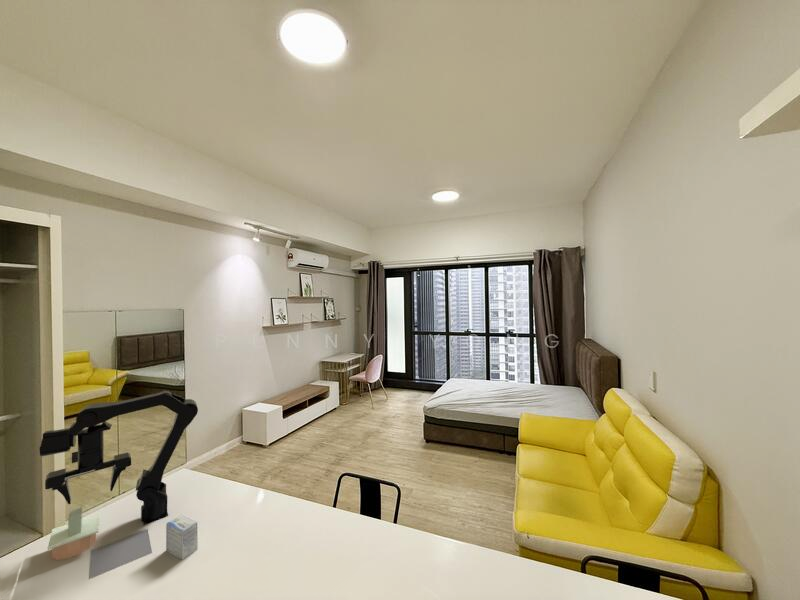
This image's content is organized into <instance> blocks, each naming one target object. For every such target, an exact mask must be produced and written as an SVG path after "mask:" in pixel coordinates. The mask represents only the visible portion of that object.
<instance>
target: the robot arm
mask: <svg viewBox="0 0 800 600" xmlns="http://www.w3.org/2000/svg"><path fill="white" fill-rule="evenodd" d="M159 406H164V407H166V408H167V409H168V410H170V411H172V412H173V413H175V415H174V419H173V424H172V426H171V428H170V430H169V432H168V433H167V436H166V437H165V440H164V442H163V444H162V445H161V447H160V450H159V451H158V453H157V456H156V457H155V460H154V461H153V463H152V465H150V467H149V468H148V469H143V470H142V473H141V475H140V477H139V478H138V479H137V480H136V485H135V491H136V498H137V499H138V500H139V501H141V502H142V505H140V520H141V522H143V525H144V526H145V525H148V524H151V523H153V522H156V521H159V520H162V519H165V518H167V517H169V513H168V494H167V484H166V483H165V482H163V481H162V480H163V476H164V473H165V470H166V467H167V466H168V463H169V462H170V460H171V457H172V456H173V454H174V451H175V449H176V447H177V446H178V444H179V442H180V439H181V438H182V435H183V433H184V432H185V430H186V429H187V427H189V425H190V424H191V423H192V422H193V420H194V419H195V418H196V416H197V415H198V411H199V408H198V404H197V402H196V401H195V400H193V399H190V398H188V399H186V398H184V397H183V396H180V395H177V394H174V393H172V392H171V391H168V390H162V391H161V392H157V393H152V394H147V395H144V396H139V397H134V398H130V399H125V400H121V401H115V402H114V401H113V402H112V401H111V402H109V401H108V402H107V401H105V402H93V403H90V404H87V405H85V406H84V407H83V408H82V409H81V410H80V411H79V412H78V414H77V415H76V417H75V422H73V423H72V424H71V425H70V427H67V428H61V429H56V430H46V431H45V432H44V433H42V439H41V444H40V446H39V455H40V457H42V458H43V457H47V456H52V455H57V454H60V453H61V454H62V453H66V452H70V451H71V448H74V447H75V446H76V444H77V451H73V452H71V463H72V464H75V463H77V469H73V470H69V471H67V470H66V469H67V468H66V467H65V468H61V469H59V470H53V471H51V472H48V473H47V474H46V476H45V480H44V481H45V483H44V487H45V490H51V491H57V492H58V493H60V494H61V495H62V497H63V498H64V499H65V501H66V503H67V504H68V505H71V503H72V502H71V501H72V498H71V492H70V491H71V490H70V487H69V480H68V479H71V478H75V477H78V476H79V477H80V476H82V475H86V474H89V473H93V472H97V471H101V470H105V469H108V468H111V467H112V472H111V477H110V484H109V485H110V486H109V490H110V492H112V491H113V489H114V488H115V485H116V484H117V480H118V478H119V477H120V476H121V473H122V471H126V470H127V468H128V467H130V466H131V465H132V457H131V454H130V453H129V452H123V453H121V454H116V455H114V457H113V459H111V460H107V461H104V457H105V456H104V452H105V451H104V431H109V430H111V428H112V424H111V423H108V422H107V421H109V420H111V419H113V418H116V417H119V416H122V415H125V414H130V413H134V412H139V411H142V410H146V409H151V408H154V407H159ZM76 442H77V443H76Z"/></svg>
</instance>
